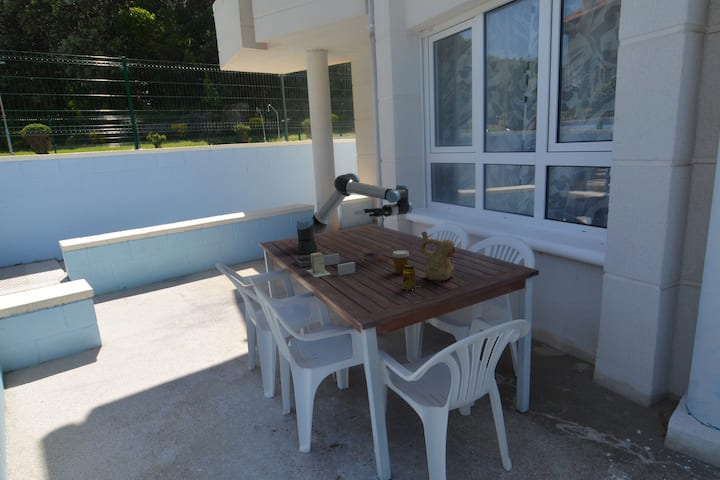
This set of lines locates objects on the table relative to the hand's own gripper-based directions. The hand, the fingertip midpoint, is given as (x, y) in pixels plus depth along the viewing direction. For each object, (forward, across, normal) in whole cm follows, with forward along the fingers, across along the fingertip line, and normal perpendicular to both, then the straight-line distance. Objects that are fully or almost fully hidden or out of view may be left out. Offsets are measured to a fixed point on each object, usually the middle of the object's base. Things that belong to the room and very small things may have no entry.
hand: (359, 214), depth 264 cm
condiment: (+1, -60, -30) cm, 67 cm away
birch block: (+32, -7, -30) cm, 44 cm away
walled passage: (+19, -7, -30) cm, 36 cm away
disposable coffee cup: (-8, -35, -30) cm, 47 cm away
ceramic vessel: (-20, -54, -30) cm, 65 cm away
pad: (+32, -7, -30) cm, 44 cm away
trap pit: (+31, +15, -30) cm, 45 cm away
